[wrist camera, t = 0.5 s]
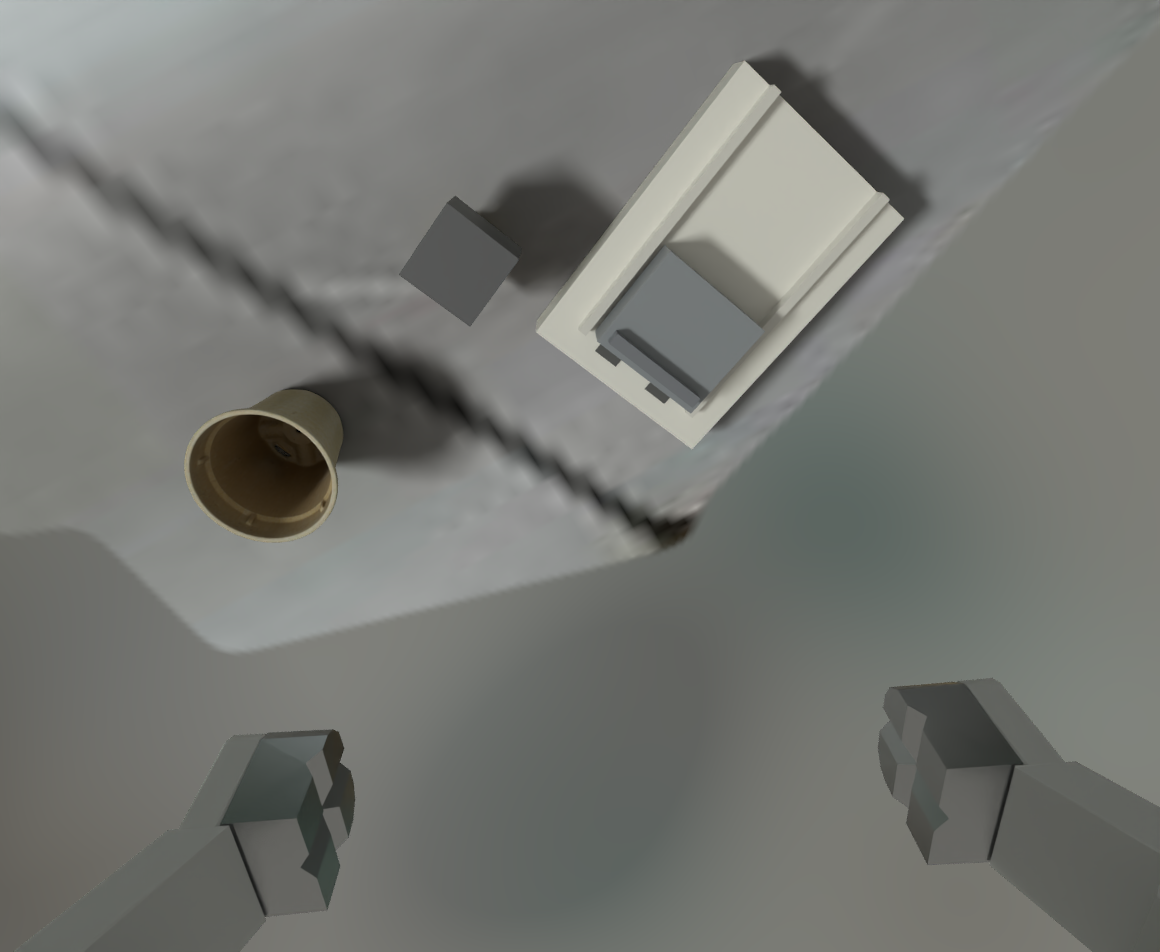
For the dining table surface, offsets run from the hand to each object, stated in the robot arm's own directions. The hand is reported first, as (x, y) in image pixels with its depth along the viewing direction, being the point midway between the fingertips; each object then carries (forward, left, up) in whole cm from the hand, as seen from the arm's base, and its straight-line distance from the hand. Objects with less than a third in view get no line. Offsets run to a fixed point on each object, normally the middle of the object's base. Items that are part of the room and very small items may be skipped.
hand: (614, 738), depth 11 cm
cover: (+3, +7, -40) cm, 40 cm away
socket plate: (0, +10, -43) cm, 44 cm away
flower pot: (+14, -18, -43) cm, 49 cm away
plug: (0, -6, -43) cm, 43 cm away
